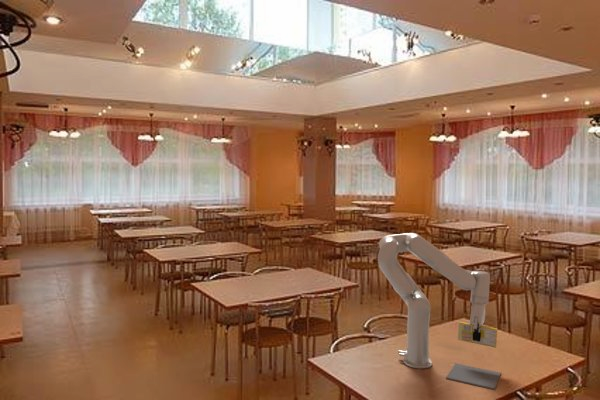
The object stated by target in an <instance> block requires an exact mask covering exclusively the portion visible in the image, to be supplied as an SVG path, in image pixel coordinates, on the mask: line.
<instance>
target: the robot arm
mask: <svg viewBox="0 0 600 400" xmlns="http://www.w3.org/2000/svg"><path fill="white" fill-rule="evenodd" d="M378 246H379V252H378V254H377V264H378V267H379V269H380V271H381V272H382V273H383V275H384V276H385V277H386V279H387V281H388V282H389V283H390V285H391V286H392V288H393V290H394V291H395V292H396V293H397V294H398V295H399V296H400V298H401V299H402V301H403V302H404V303H405V305H406V307H407V323H406V325H407V326H406V332H407V333H406V335H407V336H406V350H400V349H398V352H397V354H398V357H403V361H402V362H403V364H404V365H405V366H407V367H410V368H412V369H413V368H414V369H428V368H431V367H432V365H433V361H432V360H431V359H430V358H429V355H430V354H429V353H430V352H429V351H430V350H429V348H430V347H429V346H430V345H429V344H430V319H431V318H430V316H431V304H430V303H431V302H430V301H429V299H428V298H427V295H425V293H424V292H423V291H422V290H421V288H420V287H419V286H418V284H417V283H416V282H415V281H414V279H413V278H412V277H411V275H410V274H409V273H408V272H406V271H405V269H404V267H402V265H401V264H400V262H399V260H398V254H399V253H405V252H409V253H411V254H412V255H414V256H415V257H416V258H418V259H419V260H420V261H422V262H423V263H425V264H426V266H427V265H428V266H429V267H431V268H432V269H433V270H434V271H435V272H437V273H439V274H440V275H442V276H444V278H446V279H448V280H449V281H450V282H452V283H453V284H454V285H456V286H457V287H458V288H460V289H461V290H464V291H470V303H471V306H470V307H471V309H470V317H469V323H470V325H472V324H474V327H473V340H474V341H479V342H480V338H481V332H480V327H481V326H484V325H483V324H484V323H485V319H486V305H489V299H490V285H491V275H490V273H489V272H488V271H483V270H469V269H464V268H463V267H462V266H460V265H459V264H458V263H457V262H455V261H453V259H451V258H450V257H449V256H448V255H447V254H446V253H445V252H443V251H442V250H441V249H439V248H437V247H436V246H435V245H433V244H432V243H431V242H429V240H427V239H425V238H424V237H422V236H421V235H420V234H418V233H415V232H409V233H408V232H407V233H400V234H399V233H398V234H387V235H384V236H383V237H381V238H380V239H379V244H378ZM478 327H479V328H478Z"/></svg>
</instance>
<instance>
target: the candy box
mask: <svg viewBox="0 0 600 400" xmlns="http://www.w3.org/2000/svg"><path fill="white" fill-rule="evenodd" d="M473 327H474V323H473V324H472V325H470V322H463V321H459V322H458V332H457V340H458V341H462V342H465V343H466V342H467V343H471V344H475V345H476V344H477V345H479V346H486V347H490V348H495V349H497V342H498V341H497V339H498V338H497V337H498V328H495V327H490V326H485V325H482V326H481V327H480V332H481V338H480V342H479V341H474V340H473ZM478 328H479V327H478Z"/></svg>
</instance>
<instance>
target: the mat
mask: <svg viewBox="0 0 600 400" xmlns="http://www.w3.org/2000/svg"><path fill="white" fill-rule="evenodd" d="M501 374H502V372H499V371H494V370H490V369H485V368H480V367H475V366H470V365H465V364H461V363H454V365H453V366H452V367H451V369H450V371H449V372H448V373H447V375H446V377H445V379H446V380H449V381H450V380H451V381H455V382H459V383H462V384H463V383H464V384H467V385H471V386H472V385H473V386H477V387H482V388H484V389H485V388H486V389H490V390H494V391H495V390H496V387H497V385H498V383H499V380H500V377H501Z"/></svg>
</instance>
